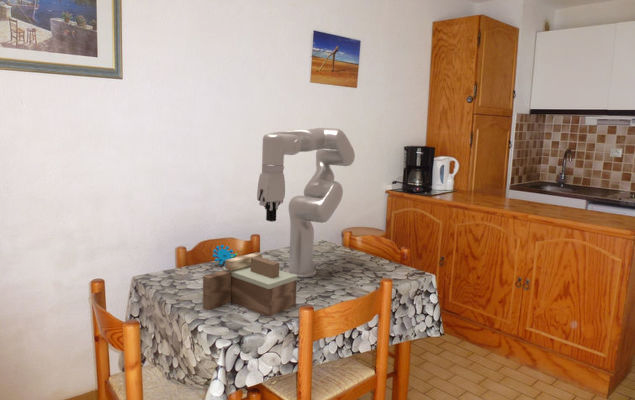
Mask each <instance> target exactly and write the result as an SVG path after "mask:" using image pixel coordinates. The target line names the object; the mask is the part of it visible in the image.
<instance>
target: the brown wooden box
mask: <svg viewBox="0 0 635 400" xmlns="http://www.w3.org/2000/svg"><path fill="white" fill-rule="evenodd" d="M297 285H298V279H297V280H295V281H292V282H289V283H286V284H283V285H280V286H277V287H274V288H271V289H267V288H264V287H261V286H258V285H255V284H253V283H250V282H247V281H244V280H241V279H238V278H236V277H233V276H231V272H229V271H226V270H224V271H222V270H221V271H217V272H213V273H210V274H206V275H205V274H204V275H203V276H202V308H203V309H206V310H207V311H210V310H213V309H217V308H219V307H222V306H225V305H229V304H230V303H232V304H234V305H238V306H239V307H243V308H245V309H247V310H250V311H251V312H252V311H253V312H255V313H258V314H259V315H262V316H265V317H267V318H269V317H271V316H274V315H277V314H279V313H282V312H284V311H286V310H289V309H291V308H294V307H296V306H297Z"/></svg>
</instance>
